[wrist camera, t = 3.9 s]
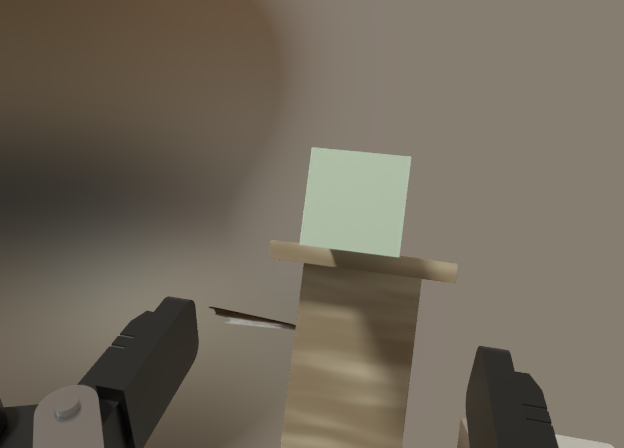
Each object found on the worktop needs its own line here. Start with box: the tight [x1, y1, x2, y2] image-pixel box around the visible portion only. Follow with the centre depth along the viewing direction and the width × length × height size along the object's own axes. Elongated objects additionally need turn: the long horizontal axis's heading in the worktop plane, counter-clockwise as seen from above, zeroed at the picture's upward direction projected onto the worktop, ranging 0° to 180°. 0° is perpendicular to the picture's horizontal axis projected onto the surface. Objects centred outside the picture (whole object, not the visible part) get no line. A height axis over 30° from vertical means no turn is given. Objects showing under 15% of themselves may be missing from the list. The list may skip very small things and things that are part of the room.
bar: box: [299, 147, 411, 257], centre depth 29 cm, size 24×4×4 cm, turn 171°
